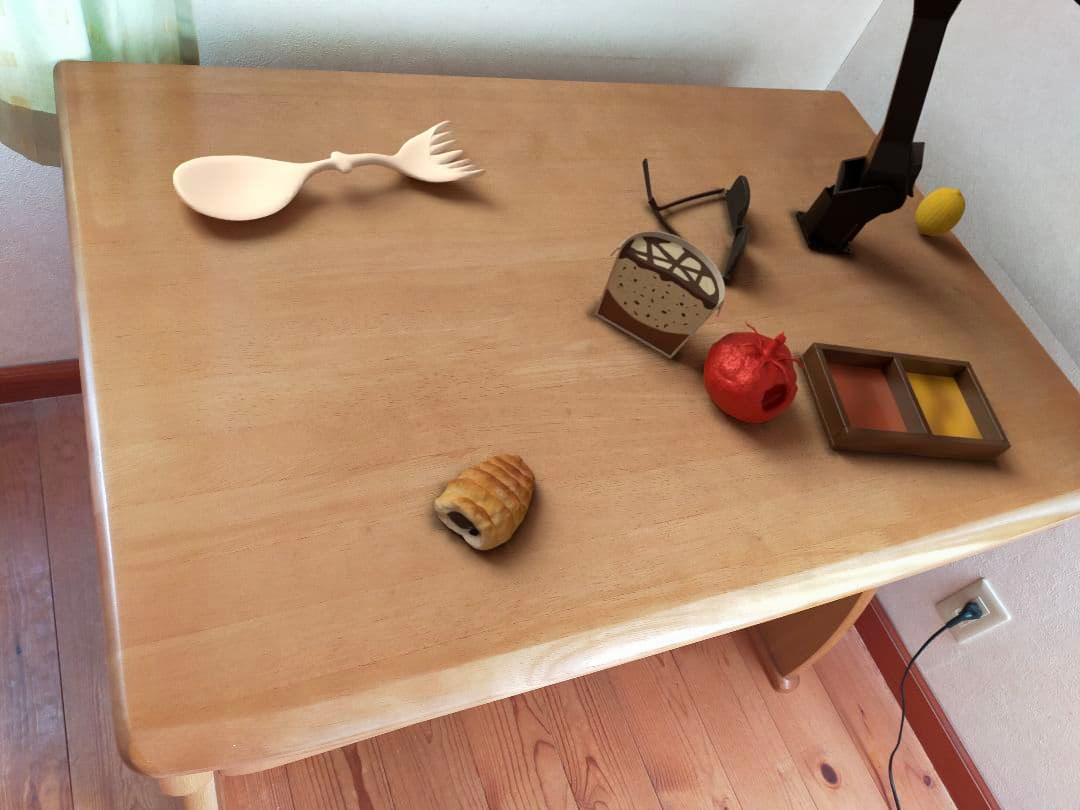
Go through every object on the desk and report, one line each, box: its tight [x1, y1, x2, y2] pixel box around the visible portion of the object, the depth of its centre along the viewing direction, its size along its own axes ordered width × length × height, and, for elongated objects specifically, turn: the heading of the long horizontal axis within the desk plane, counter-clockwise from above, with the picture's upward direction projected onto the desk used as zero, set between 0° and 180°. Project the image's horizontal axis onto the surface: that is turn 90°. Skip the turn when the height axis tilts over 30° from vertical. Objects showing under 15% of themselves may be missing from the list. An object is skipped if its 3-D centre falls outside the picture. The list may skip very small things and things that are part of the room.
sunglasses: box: [641, 157, 751, 283], centre depth 106 cm, size 17×14×5 cm
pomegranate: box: [703, 320, 804, 424], centre depth 90 cm, size 10×10×9 cm
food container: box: [594, 230, 726, 360], centre depth 91 cm, size 12×6×10 cm, turn 65°
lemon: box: [914, 187, 966, 237], centre depth 121 cm, size 6×6×8 cm
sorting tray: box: [798, 341, 1012, 462], centre depth 99 cm, size 22×12×3 cm, turn 97°
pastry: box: [433, 454, 536, 551], centre depth 74 cm, size 9×7×4 cm
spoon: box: [172, 120, 487, 221], centre depth 91 cm, size 9×32×4 cm, turn 122°
